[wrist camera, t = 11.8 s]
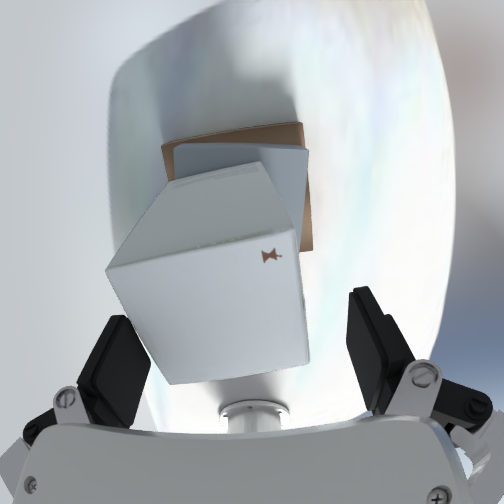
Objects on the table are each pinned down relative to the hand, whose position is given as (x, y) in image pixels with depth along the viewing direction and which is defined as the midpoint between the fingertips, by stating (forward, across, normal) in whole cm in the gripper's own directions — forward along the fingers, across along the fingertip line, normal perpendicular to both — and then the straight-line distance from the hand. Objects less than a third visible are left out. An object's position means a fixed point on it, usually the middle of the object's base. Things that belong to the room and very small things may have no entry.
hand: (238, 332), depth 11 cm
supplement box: (+13, +2, -1) cm, 13 cm away
